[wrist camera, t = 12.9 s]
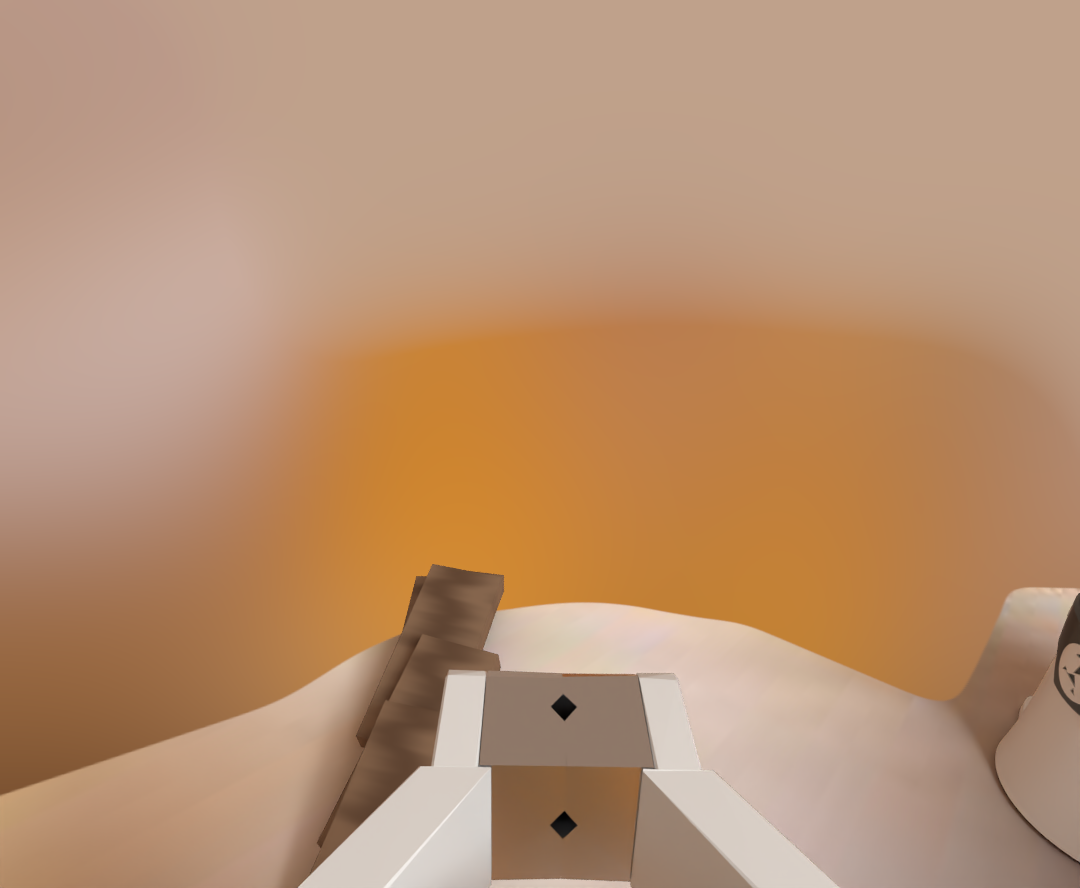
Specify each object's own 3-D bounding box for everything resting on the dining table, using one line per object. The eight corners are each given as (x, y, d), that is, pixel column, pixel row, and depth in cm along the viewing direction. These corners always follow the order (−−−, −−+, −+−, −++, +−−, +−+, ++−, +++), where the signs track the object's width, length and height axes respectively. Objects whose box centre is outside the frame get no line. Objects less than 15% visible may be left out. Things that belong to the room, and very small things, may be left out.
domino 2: (412, 885, 45) (500, 667, 55) (406, 876, 43) (498, 654, 54) (324, 853, 46) (426, 647, 56) (317, 842, 45) (422, 634, 55)
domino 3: (385, 1002, 39) (474, 732, 49) (378, 993, 38) (471, 718, 48) (282, 970, 40) (390, 713, 51) (272, 960, 39) (385, 700, 50)
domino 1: (441, 767, 52) (503, 590, 62) (437, 755, 50) (501, 577, 61) (361, 747, 53) (435, 577, 63) (356, 735, 52) (432, 564, 62)
